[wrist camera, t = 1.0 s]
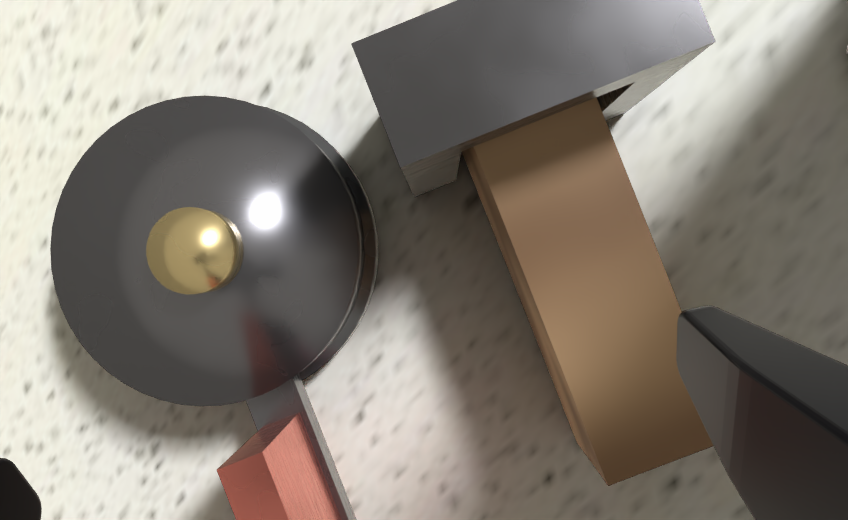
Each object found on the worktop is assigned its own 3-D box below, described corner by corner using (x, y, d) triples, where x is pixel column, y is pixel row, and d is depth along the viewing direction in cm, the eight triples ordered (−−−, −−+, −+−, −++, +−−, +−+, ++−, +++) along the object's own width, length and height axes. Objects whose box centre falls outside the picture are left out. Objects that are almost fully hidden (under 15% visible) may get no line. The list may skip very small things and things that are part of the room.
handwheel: (489, 536, 20) (504, 627, 15) (228, 635, 21) (159, 756, 16) (304, 69, 20) (259, 8, 15) (47, 173, 21) (-79, 147, 16)
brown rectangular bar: (677, 403, 21) (732, 438, 17) (576, 442, 21) (608, 485, 17) (524, 21, 21) (543, -35, 17) (425, 61, 21) (421, 15, 17)
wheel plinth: (421, 332, 21) (420, 336, 20) (157, 436, 22) (143, 444, 21) (315, 65, 21) (309, 56, 20) (54, 172, 22) (35, 168, 21)
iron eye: (625, 112, 21) (715, 41, 14) (414, 197, 21) (400, 167, 14) (591, 28, 21) (665, -85, 14) (381, 113, 21) (351, 43, 14)
